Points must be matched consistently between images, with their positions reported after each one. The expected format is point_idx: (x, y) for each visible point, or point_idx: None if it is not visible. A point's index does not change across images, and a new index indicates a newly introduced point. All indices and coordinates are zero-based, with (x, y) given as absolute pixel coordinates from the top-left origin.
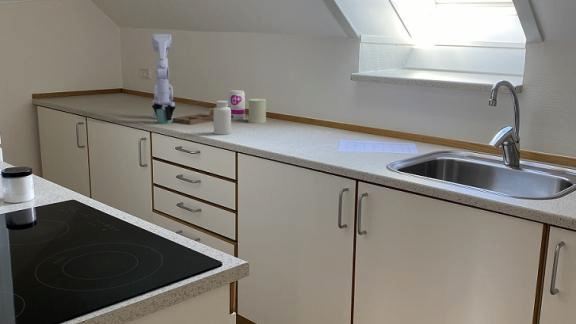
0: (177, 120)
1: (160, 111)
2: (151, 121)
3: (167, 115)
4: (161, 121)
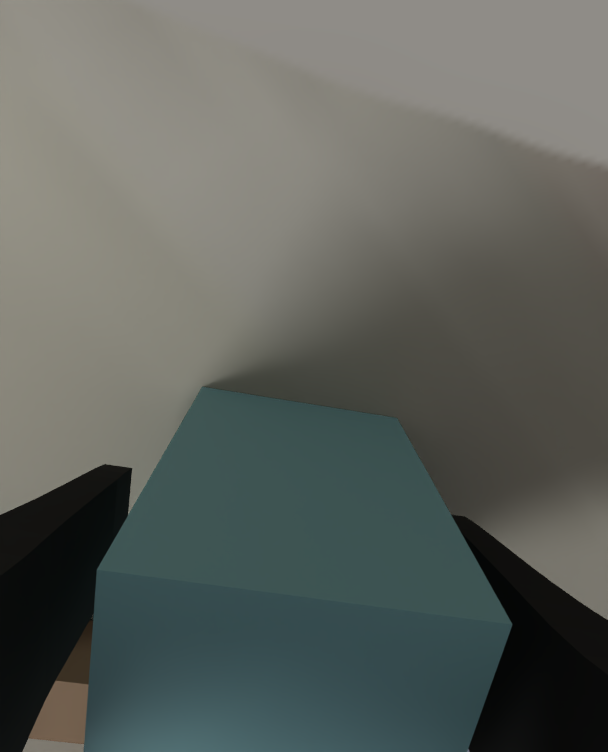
0: (87, 653)
1: (276, 550)
2: (598, 504)
3: (32, 503)
4: (264, 414)
